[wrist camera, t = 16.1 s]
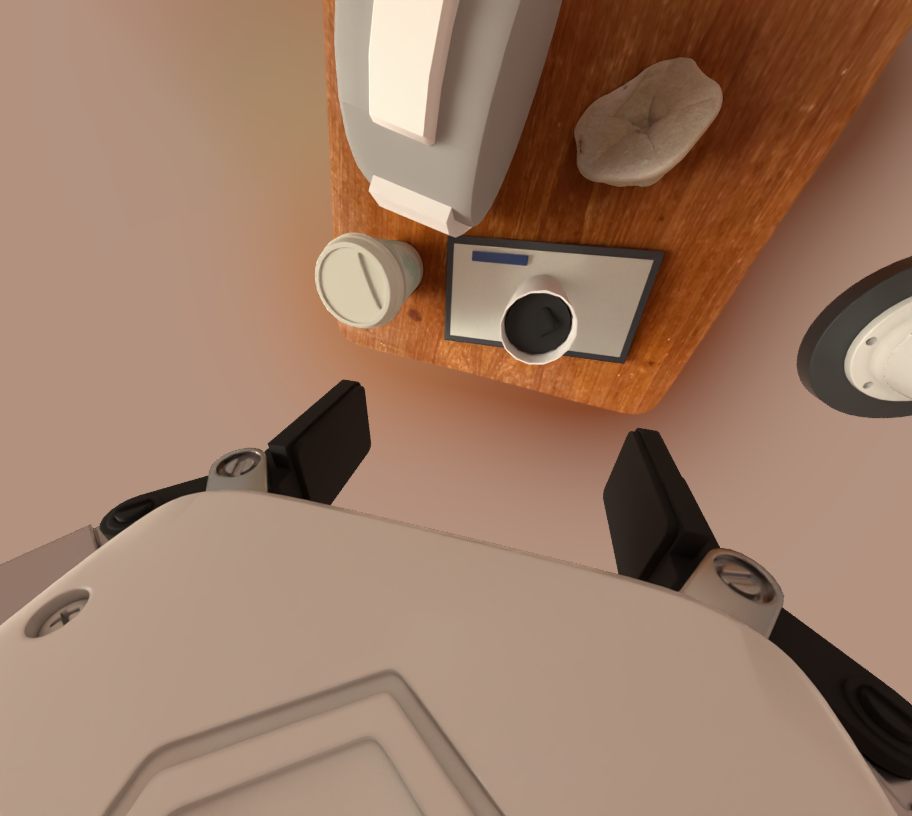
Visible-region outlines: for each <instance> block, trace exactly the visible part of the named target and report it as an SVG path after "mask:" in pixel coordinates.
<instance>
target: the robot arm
mask: <svg viewBox="0 0 912 816" xmlns="http://www.w3.org/2000/svg"><path fill="white" fill-rule="evenodd" d="M844 370H845V374H846V377H847V379H848V380H849V382H850V383H851V385H853V386H854V387H855V388H857V389H858V390H859V391H861V392H863V393H865V394H867V395H869V396H871V397H874V398H877V399H881V400H888V401H912V296H911V297H909V298H907V299H905V300H903V301H901V302H899V303H897V304H896V305H894V306H892V307H890V308H889V309H887V310H886V311H884V312H883V313H881V314H880V315H879V316H877V317H876V318H875V319H873V320H872V321H871V322H870V323H869V324H868V325H867V326H866V327H865V328H864V329H862V331H861V332H860V333H859V334H858V335H857V337H856V338H855V339H854V340H853V342H852V344H851V346H850V347H849V349H848V351H847V354H846V358H845V363H844ZM268 446H269V449H267V450H266V451H265V452H263V451H262V450H260V449H256V448H244V449H238V450H235V451H232V452H229V453H227V454H225V455H223V456H222V457H220V458H219V459H217V460H216V461H215V462H214V463H213V464H212V466H211V468H210V470H209V476H205V477H202V478H198V479H195V480H192V481H188V482H184V483H181V484H177V485H174V486H170V487H167V488H163V489H160V490H156V491H153V492H150V493H146V494H143V495H139V496H137V497H134V498H131V499H129V500H126V501H125V502H123V503H121V504H119V505H118V506H116V507H115V508H114V509H112V510H111V511H110V512H109V513H108V514H107V515H106V516H105V517H104V518H103V519H102V521H101V523H100V526H98V527H96V528H93V527H92V525H88V526H86V527H84V528H82V529H79V530H77V531H75V532H73V533H70V534H68V535H66V536H64V537H62V538H59V539H57V540H55V541H52V542H50V543H48V544H46V545H43V546H41V547H39V548H37V549H35V550H32V551H30V552H28V553H25V554H23V555H21V556H19V557H16V558H14V559H12V560H10V561H7V562H5V563H3V564H1V565H0V816H912V705H911V704H910V703H909V702H908V701H906V700H905V699H904V698H903V697H902V696H900V695H899V694H898V693H897V692H896V691H894V690H893V689H892V688H890V687H889V686H887V685H886V684H885V683H884V682H882V681H881V680H880V679H878V678H877V677H875V676H874V675H873V674H872V673H870V672H869V671H868V670H866V669H865V668H863V667H862V666H861V665H859V664H858V663H857V662H855V661H854V660H853V659H851V658H850V657H849V656H847V655H846V654H844V653H843V652H842V651H840V650H839V649H838V648H836V647H835V646H834V645H832V644H831V643H830V642H828V641H827V640H826V639H824V638H823V637H821V636H820V635H819V634H818V633H816V632H815V631H813V630H812V629H811V628H809V627H808V626H807V625H805V624H804V623H803V622H801V621H800V620H798V619H797V618H796V617H795V616H793V615H792V614H790V613H789V612H788V611H786V610H785V609H784V608H782V606H783V602H784V595H783V592H782V590H781V587H780V586H779V584H778V583H777V582H776V580H775V579H774V577H773V576H772V575H771V574H770V573H769V572H768V571H767V570H766V569H765V568H764V567H762V566H761V565H759V564H758V563H757V562H755V561H754V560H752V559H751V558H749V557H747V556H745V555H744V554H742V553H739V552H736V551H733V550H731V549H724V548H720V546H719V545H718V543H717V541H716V539H715V537H714V535H713V533H712V531H711V529H710V527H709V525H708V523H707V521H706V520H705V518H704V516H703V514H702V512H701V510H700V508H699V506H698V504H697V502H696V500H695V498H694V496H693V495H692V492H691V491H690V489H689V487H688V485H687V483H686V481H685V480H684V478H683V477H682V476H681V474H680V472H679V470H678V469H677V467H676V465H675V463H674V461H673V459H672V457H671V455H670V453H669V451H668V449H667V447H666V445H665V443H664V441H663V439H662V438H661V435H660V433H659V432H657V431H653V430H647V429H642V428H637V429H636V430H635V432H633V431H630V432H629V433H628V435H627V437H626V440H625V442H624V444H623V447H622V449H621V451H620V454H619V456H618V459H617V461H616V463H615V465H614V468H613V470H612V472H611V475H610V477H609V479H608V482H607V484H606V486H605V489H604V493H603V500H604V505H605V510H606V514H607V520H608V524H609V529H610V534H611V539H612V544H613V549H614V554H615V559H616V564H617V569H618V574H615V573H612V572H608V571H604V570H600V569H596V568H592V567H588V566H584V565H580V564H577V563H572V562H568V561H564V560H560V559H556V558H552V557H548V556H543V555H539V554H535V553H531V552H527V551H523V550H519V549H515V548H511V547H506V546H502V545H498V544H494V543H490V542H485V541H481V540H477V539H473V538H469V537H464V536H460V535H456V534H452V533H448V532H443V531H439V530H435V529H431V528H426V527H422V526H418V525H414V524H409V523H404V522H401V521H397V520H392V519H388V518H384V517H379V516H374V515H370V514H366V513H362V512H357V511H353V510H348V509H344V508H340V507H335V506H331V504H332V502H333V501H334V499H335V498H336V497H337V495H338V494H339V492H340V491H341V490H342V488H343V487H344V485H345V484H346V483H347V481H348V480H349V478H350V477H351V476H352V474H353V473H354V471H355V470H356V469H357V467H358V466H359V464H360V463H361V462H362V460H363V459H364V458H365V456H366V455H367V453H368V452H369V450H370V447H371V439H370V430H369V423H368V414H367V406H366V397H365V390H364V387H363V386H361V385H360V383H359V382H356V381H350V380H342V381H341V382H339V383H338V384H337V385H336V386H335V387H333V388H332V389H331V390H330V391H329V392H328V393H326V394H325V395H324V396H323V397H322V398H321V399H319V400H318V401H317V402H316V403H315V404H314V405H312V406H311V407H310V408H309V409H308V410H307V411H305V412H304V413H303V414H302V415H301V416H300V417H298V419H296V420H295V421H294V422H293V423H291V424H290V425H289V426H288V427H287V428H285V429H284V430H283V431H282V432H281V433H280V434H279V435H277V436H276V437H275V438H274V439H273V440H271V441H270V442H269V443H268Z"/></svg>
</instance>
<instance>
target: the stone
mask: <svg viewBox="0 0 912 816" xmlns="http://www.w3.org/2000/svg"><path fill="white" fill-rule="evenodd" d="M722 100H723V97H722V90H721V88H720V85H719V84H718V83H716V82H715V81H714V80H711V79H710V78H709V77H707V76H706V75H705V74H704V73H703V72H702V71H701V70H700V68H699V67H698V66H697V64H696V62H695V61H694V60H692V59H690V58H683V57H679V58H675V59H670V60H665V61H661V62H658V63H656V64H654V65H652V66H650V67H648V68H646V69H645V70H643V71H642V72H641V73H640V74H639V75H638V76H637V77H635V78H633V79H632V80H630V81H629V82H627V83H626V84H625V85H623V86H621V87H619V88H617V89H616V90H614V91H613V92H611V93H609V94H607V95H604V96H602V97H600V98H599V99H597V100H596V101H594V102H593V103H592V104H591V105H590V106H589V107H588V108H587V109H586V110H585V112H584V113H583V115H582V116H581V118H580V119H579V121H578V122H577V124H576V127H575V131H574V137H575V140H576V145H577V167H578V169H579V171H580V173H581V174H582V175H583V176H584V177H585V178H586V179H588V180H591V181H593V182H604V183H606V184H610V185H613V186H617V187H625V186H628V185H629V186H634V185H635V186H640V187H646V186H650V185H652V184H654V183H656V182H658V181H659V180H660V179H661V178H662V177H663V176H664V174H666V173H667V172H668V171H670V170H671V169H672V168H673V167H675V166H676V165H677V164H678V163H679V162H680V161H681V160H682V159H683V158H684V157H685V156H686V155H687V154H688V152H689V151H690V150H691V149H692V148H693V146H694V145H695V144H696V143H697V141H698V140H699V139H700V138H701V136H702V135H703V134H704V132H705V131H706V130H707V129H708V127H709V126H710V125H711V124H712V122H713V121H714V119H715V118H716V116H717V115H718V113H719V111H720V108H721V106H722Z"/></svg>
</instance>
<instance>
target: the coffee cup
mask: <svg viewBox="0 0 912 816" xmlns="http://www.w3.org/2000/svg"><path fill="white" fill-rule="evenodd" d="M422 277H423V263H422V260H421V257H420V255H419V254H418V252H417V251H416V250H415V248H414V247H412V246H411V245H410V244H408V243H406V242H403V241H396V240H386V239H376V238H372V237H370V236H368V235H365V234H361V233H347V234H343V235H341V236H339V237H337V238H335V239H334V240H332V241H331V242H330V243H329V244H328V245H327V246H326V247H325V249H324V250H323V252H322V253H321V255H320V256H319V258H318V261H317V264H316V268H315V282H316V287H317V291H318V294H319V296H320V298H321V300H322V302H323V304H324V305H325V307H326V308H327V309H328V311H329V312H330V313H331V314H332V315H333V316H334V317H336V318H337V319H338V320H340V321H341V322H343V323H345V324H347V325H349V326H353V327H358V328H376V327H380V326H383V325H385V324H387V323H389V322H390V321H391V320H392V319H394V317H395V316H396V315H397V314H398V312H399V310H400V308H401V306H402V304H403V303H404V302H405V300H406V299H407V298H408V297H409V296H410V295H411V293H412V292H413V291H414V290H415V289H416V288H417V286H418V285H419V284H420V282H421V280H422Z"/></svg>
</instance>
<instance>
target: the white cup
mask: <svg viewBox="0 0 912 816" xmlns="http://www.w3.org/2000/svg"><path fill="white" fill-rule="evenodd" d="M577 323H578V321H577V318H576V315H575V312H574V309H573V307H572V305H571V303H570V301H569V299H568V297H567V295H566V293H565V291H564V289H563V287H562V285H561V284H560V283H559V282H558V281H557V280H556V279H555V278H552V277H550V276H547V275H535V276H532V277H530V278H528V279H526V280H524V281H523V283H522V284H521V285H520V286H519V287H518V288H517V290H516V291H515V293H514V295H513V296H512V298H511V300H510V302H509V303H508V305H507V307H506V308H505V311H504V313H503V316H502V318H501V321H500V339H501V341H502V343H503V345H504V347H505V350H506V351H507V352H508V353H509V354H511V355H512V356H513V357H514V358H515V359H516V360H519V361H522V362H524V363H527V364H545V363H548V362H551V361H554V360H557V359H558V358H559V357H561V356H562V355H563V354H564V353H565V352H567V351H568V350H569V348H570V347H571V345H572V343H573V341H574V339H575V337H576V333H577Z"/></svg>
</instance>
